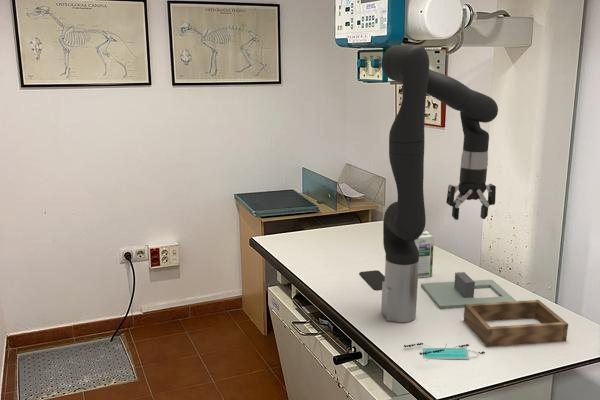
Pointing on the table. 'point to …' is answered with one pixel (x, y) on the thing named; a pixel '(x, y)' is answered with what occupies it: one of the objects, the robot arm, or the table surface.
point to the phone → (373, 279)
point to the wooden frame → (515, 334)
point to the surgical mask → (445, 353)
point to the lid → (463, 292)
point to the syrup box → (425, 254)
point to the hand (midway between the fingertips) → (469, 218)
